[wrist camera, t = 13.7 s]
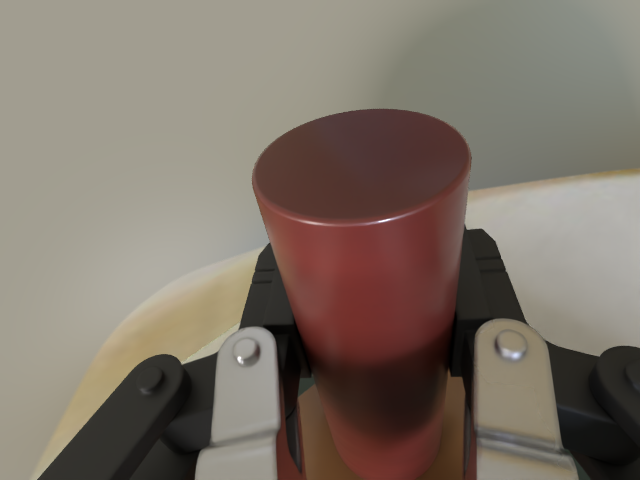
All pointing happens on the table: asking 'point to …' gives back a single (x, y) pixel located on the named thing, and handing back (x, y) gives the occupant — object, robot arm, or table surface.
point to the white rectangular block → (212, 345)
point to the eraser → (372, 287)
